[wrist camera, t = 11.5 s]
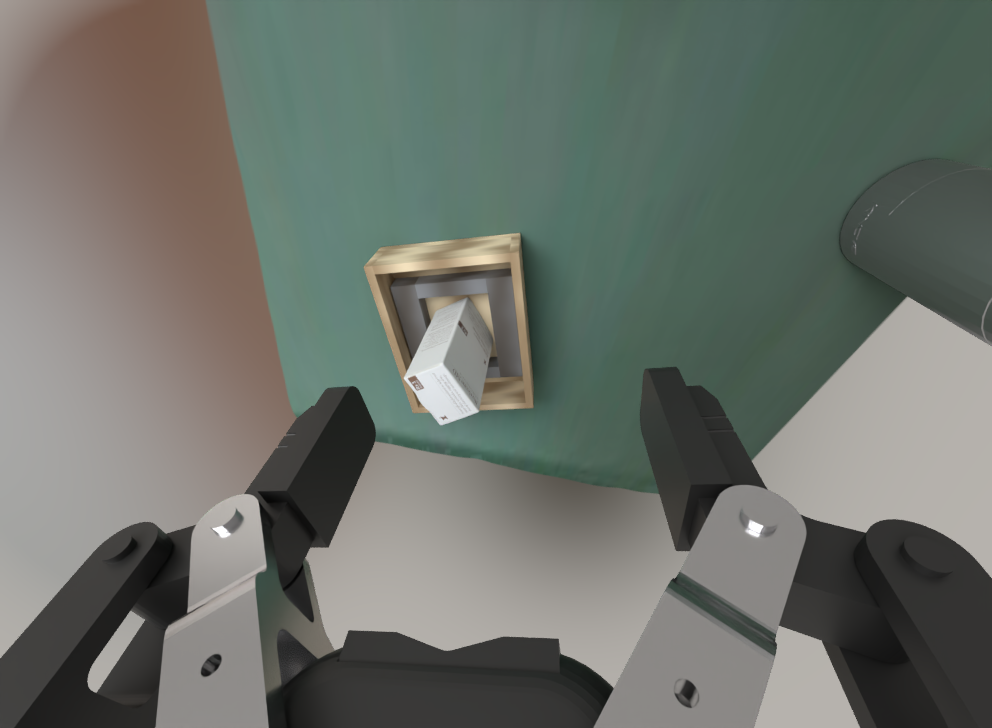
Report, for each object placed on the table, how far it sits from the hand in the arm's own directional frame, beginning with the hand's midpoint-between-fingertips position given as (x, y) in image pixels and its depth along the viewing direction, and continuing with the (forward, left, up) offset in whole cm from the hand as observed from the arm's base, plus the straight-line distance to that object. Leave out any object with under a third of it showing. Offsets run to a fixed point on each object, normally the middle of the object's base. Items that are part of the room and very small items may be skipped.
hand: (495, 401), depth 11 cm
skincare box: (+7, +14, -29) cm, 33 cm away
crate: (+8, +14, -29) cm, 33 cm away
